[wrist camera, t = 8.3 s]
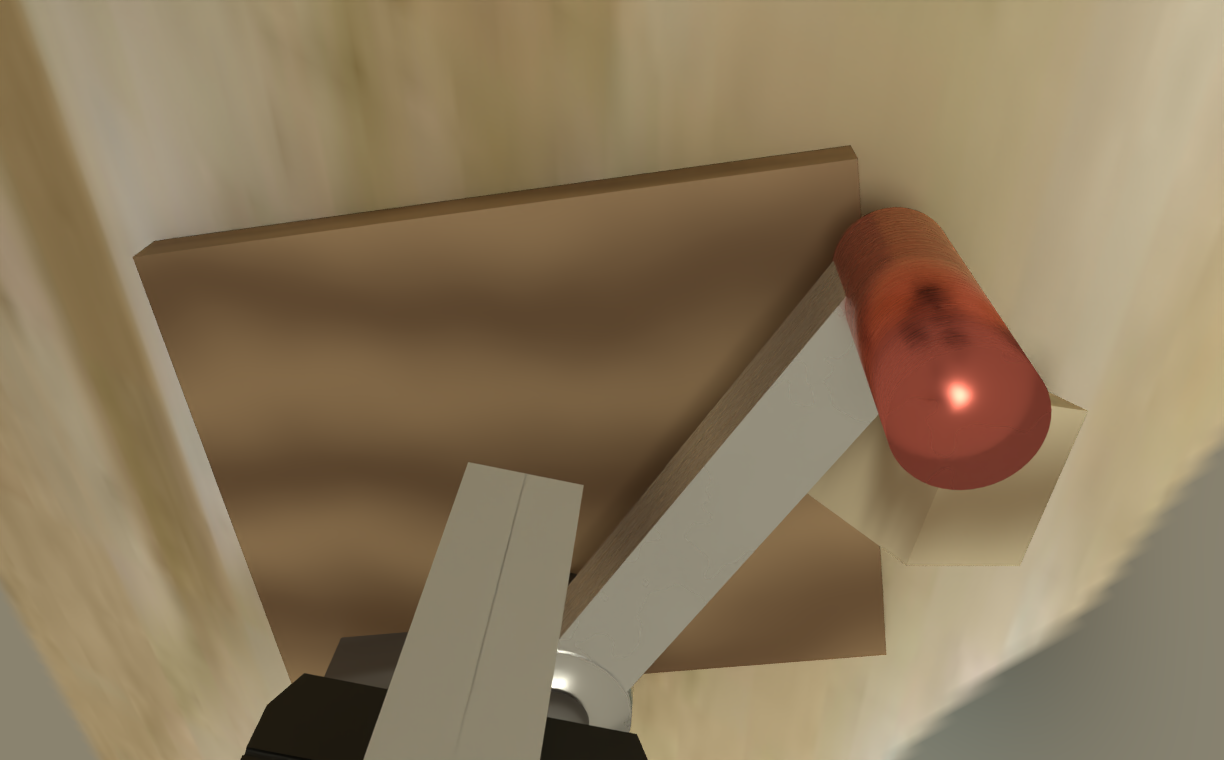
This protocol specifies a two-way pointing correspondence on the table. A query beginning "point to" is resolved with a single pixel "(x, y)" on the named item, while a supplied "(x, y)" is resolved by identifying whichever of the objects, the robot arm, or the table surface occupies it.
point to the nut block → (946, 500)
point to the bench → (504, 391)
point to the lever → (807, 441)
